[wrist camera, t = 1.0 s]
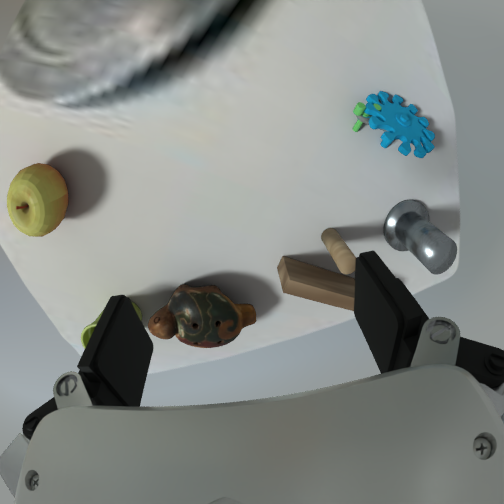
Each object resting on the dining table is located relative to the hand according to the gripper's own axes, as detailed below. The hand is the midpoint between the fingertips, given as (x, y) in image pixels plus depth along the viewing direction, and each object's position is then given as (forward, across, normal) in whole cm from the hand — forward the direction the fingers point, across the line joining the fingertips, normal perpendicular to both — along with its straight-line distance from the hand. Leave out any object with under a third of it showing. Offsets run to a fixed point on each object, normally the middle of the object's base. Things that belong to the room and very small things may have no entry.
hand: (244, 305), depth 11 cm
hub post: (+26, -23, +12) cm, 37 cm away
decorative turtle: (+26, +9, +19) cm, 33 cm away
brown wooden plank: (+26, -10, +18) cm, 33 cm away
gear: (+26, -20, -4) cm, 33 cm away
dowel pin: (+26, -10, +12) cm, 30 cm away
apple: (+26, +27, -4) cm, 38 cm away
